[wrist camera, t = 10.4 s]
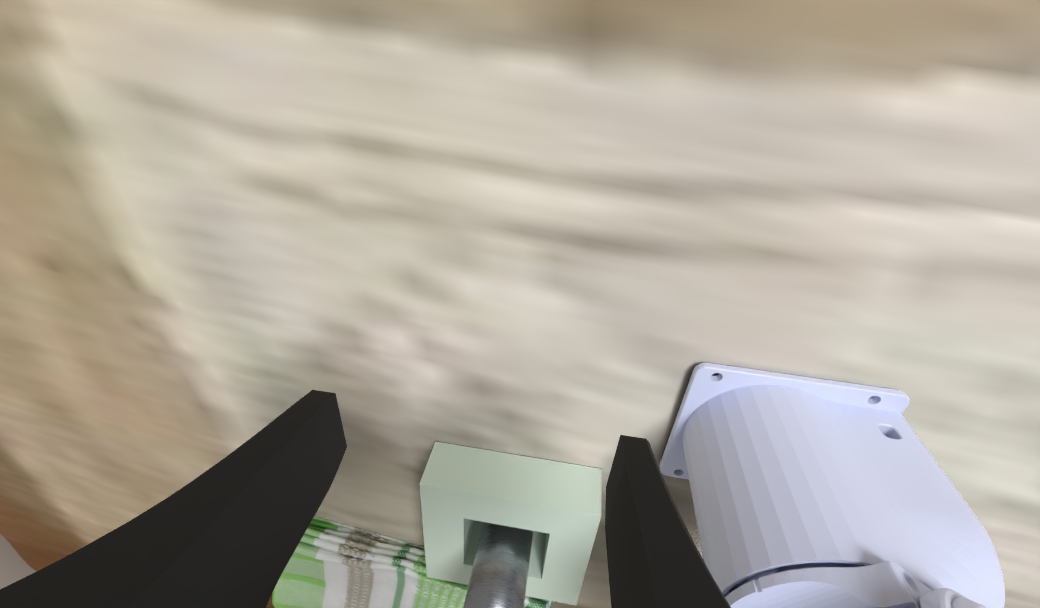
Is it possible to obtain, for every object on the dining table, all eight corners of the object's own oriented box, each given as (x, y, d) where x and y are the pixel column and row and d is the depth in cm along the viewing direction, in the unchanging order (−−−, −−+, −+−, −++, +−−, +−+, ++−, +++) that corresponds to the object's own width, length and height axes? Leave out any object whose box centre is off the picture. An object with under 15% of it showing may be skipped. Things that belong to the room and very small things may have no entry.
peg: (529, 485, 29) (504, 652, 22) (541, 517, 31) (523, 682, 23) (481, 488, 30) (441, 649, 22) (496, 518, 32) (463, 678, 24)
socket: (601, 468, 27) (601, 515, 25) (578, 559, 33) (576, 605, 30) (435, 441, 28) (419, 484, 26) (440, 534, 34) (427, 577, 31)
